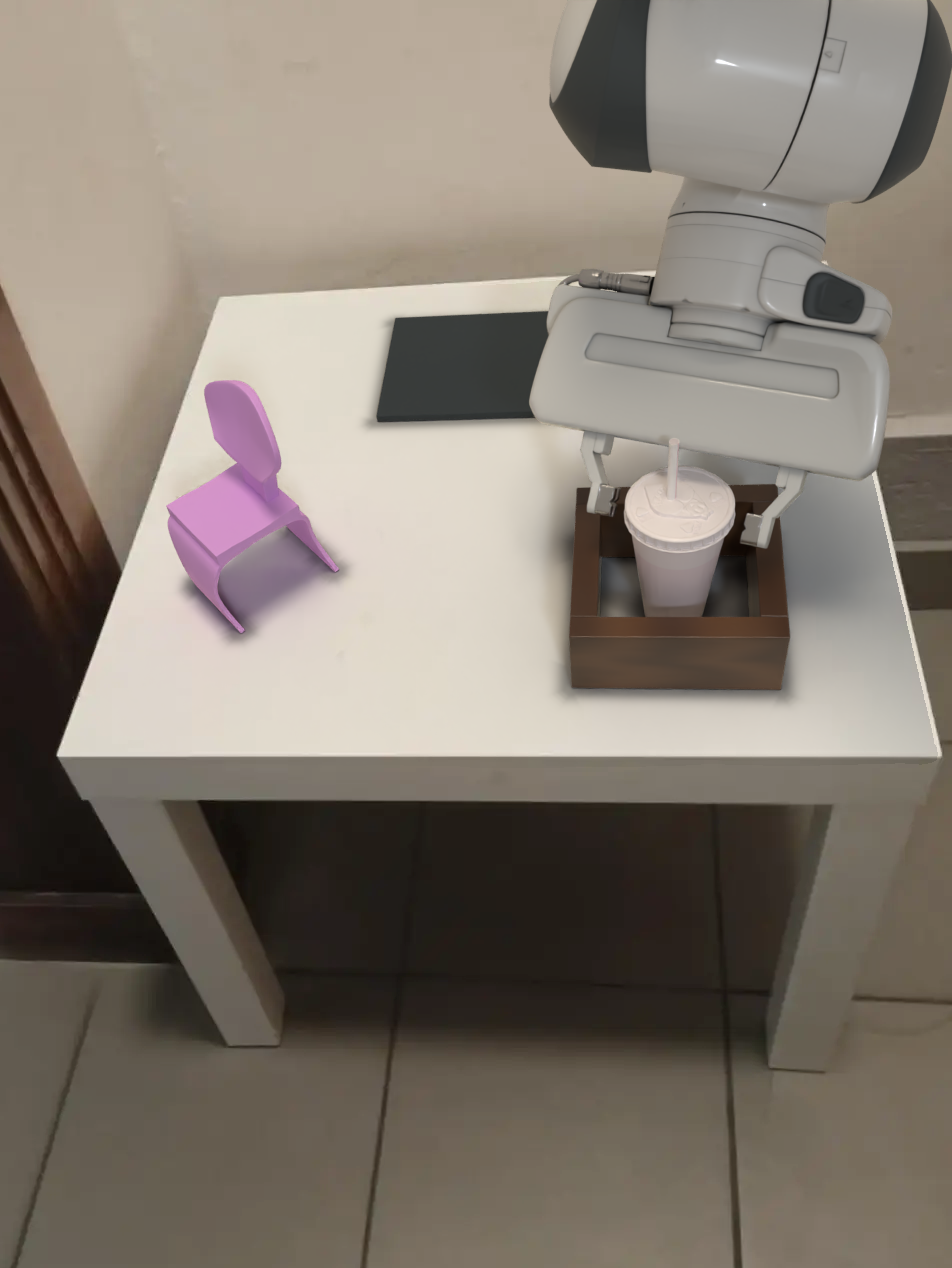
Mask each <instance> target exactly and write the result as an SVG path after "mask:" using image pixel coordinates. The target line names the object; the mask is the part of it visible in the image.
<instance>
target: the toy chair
mask: <svg viewBox="0 0 952 1268" xmlns="http://www.w3.org/2000/svg"><path fill="white" fill-rule="evenodd" d="M203 394H204V402H205V405H206V409H207V414H208V418H209V421H210V426H211V430H212V435H213V439H214V441H215V442H216V443H217V444H218V445H219V447H221V449H222V450H223V451H224V452H225V453H226V454H227V455H228V456H229V457H230V458H231V459H232V460H233V461H234V462H235V463H234V464H232V465H231V466H229V467H228V468H226V469H225V470H224V471H222V472H221V473H219V474H218V475H216V476H215V477H213V478H212V479H210V480H209V481H207V482H205V483H204V484H202V485H199V487H197V488H195V489H192V490H190V491H189V492H187V493H185V494H183V495H182V496H179V497H178V498H177V499H175V500H173V501H171V502H170V503H168V504H166V506H165V507H166V509H167V511H168V514H169V517H168V519H167V529H168V534H169V536H170V540H171V542H172V545H173V547H174V550H175V552H176V555H177V556H178V559H179V561H180V562H181V565H182V567H183V568H184V570H185V572H186V574H187V575H188V577H189V578H190V580H191V581H192V583H193V584H194V586H196V587H197V588H198V589H199V591H200V592H201V593H202V594H203V595H204V597H206V598H207V599H208V600H209V601H210V602H211V603H212V605H214V606H215V608H216V609H217V610H219V612H220V613H221V614H222V615H223V617H225V619H227V620H228V621H229V622H230V624H232V626H233V627H234V628H235V630H237V631H238V632H239V634H240V633H241V634H242V633H244V632H245V631H246V630H245V628H244V627H243V626H242V624H240V622H238V620H237V619H236V618H235V617H234V616H233V614H232V613H231V611H229V610H228V608H227V607H226V605H225V604H224V602H223V601H222V599H221V597H220V595H219V589H218V586H219V585H218V584H219V579H220V577H221V573H222V570H223V569H224V568H225V566H227V564H228V563H230V562H231V561H232V560H234V559H235V558H236V557H238V556H239V555H241V554H242V553H243V552H244V551H245V550H248V548H250V547H252V546H253V545H254V544H256V543H257V542H259V541H260V540H262V539H263V538H265V537H267V536H269V535H271V534H272V533H274V532H276V531H278V530H280V529H282V528H284V527H287V529H289V531H291V533H293V534H294V535H295V536H296V537H297V538H298V539H299V540H300V541H301V542H302V543H303V544H304V545H305V546H306V547H308V548H309V549H310V550H311V552H313V553H314V554H315V555H316V556H317V557H318V558H319V559H320V560H321V561H322V562H323V563H325V565H327V567H329V569H331V570H332V571H333V572H334V573H336V572H338V571H339V570H340V569H339V567H338V565H337V564H336V563H335V562H334V560H333V559H332V557H330V555H329V554H328V552H327V551H326V550H325V548H324V547H323V546H322V544H321V543H320V541H319V540H318V538H317V536H316V535H315V532H314V530H313V527H312V523H311V520H310V519H309V517H308V516H307V515H306V514H305V513H304V512H303V511H302V510H301V509H300V506H299V504H297V502H295V500H293V499H292V498H291V497H290V496H289V495H288V494H286V493H285V492H284V491H283V490H282V489H281V488H280V487H279V484H278V477H277V474H278V473H279V472H280V470H281V469H282V456H281V451H280V448H279V445H278V442H277V439H276V435H275V433H274V430H273V427H272V424H271V421H270V419H269V417H268V414H267V412H266V410H265V408H264V407H265V406H264V405H263V403H262V401H261V399H260V397H259V395H258V393H257V392H256V391H255V390H254V388H253V387H252V386H250V385H249V384H247V383H246V382H244V381H241V380H237V379H221V380H214V381H211V382H208V383H207V384H206V385H205V387H204V389H203Z"/></svg>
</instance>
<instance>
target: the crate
mask: <svg viewBox="0 0 952 1268" xmlns="http://www.w3.org/2000/svg"><path fill="white" fill-rule="evenodd" d="M728 486H729V487H730V488H731V490H732V492H733V494H734V498H735V519H734V524H733V526H732V528H731V529H730V531H729V533H728V534H727V535H726V536H725V537H724V540H723V544H722V547H721V550H720V554H719V557H745V563H746V580H747V581H746V582H747V583H746V584H747V598H748V614H749V616H702V617H645V616H600V615H601V588H602V585H601V584H602V558H636V557H635V551H634V545H633V540H632V534H631V533H630V532H629V530H628V528H627V526H626V524H625V520H624V510H625V499H626V496H627V493H628V491H629V489H630V488H631V486H617V487H618V488H622V489H621V494H620V498H619V500H618V501H617V502H616V504H617V506H618V507H617V511H616V514H615V516H614V517H610V516H604V515H599V514H594V513H589V512H587V503H588V498H589V494H590V489H591V486H587V487H586V486H585V487H576V490H575V491H576V494H575V511H574V530H573V531H574V532H573V550H572V551H573V553H572V567H571V568H572V570H571V571H572V572H571V590H570V607H569V608H570V611H569V629H568V630H569V631H568V645H569V646H568V647H569V665H570V685H571V688H572V689H650V690H651V689H655V690H656V689H657V690H658V689H660V690H664V689H665V690H667V689H668V690H669V689H671V690H672V689H673V690H757V691H758V690H765V691H766V690H769V691H771V690H772V691H773V690H775V691H776V690H777V691H779V690H781V689H782V687H783V686H782V685H783V680H784V674H785V669H786V662H787V657H788V652H789V646H790V641H791V631H790V621H789V619H790V618H789V608H788V607H789V606H788V595H787V584H786V583H787V582H786V571H785V560H784V559H785V558H784V547H783V535H782V533H783V532H782V523H781V516H780V517H779V518H776V519H775V522H774V526H773V530H772V534H771V538H770V542H769V545H768V548H761V547H755V546H751V545H747V544H742V543H740V539H741V535H742V532H743V531H744V530H745V529H746V528H745V525H744V523H745V519H746V515H747V513H751V514H756V515H762V513H763V512H764V511H765V510H766V509H767V508H768V507H769V506H770V505H771V504H772V503H773V501H774V500H775V499H776V498H777V497H778V496H779V487H777V486H776V484H775V483H749V484H748V483H747V484H746V483H745V484H744V483H743V484H728ZM762 516H763V515H762Z"/></svg>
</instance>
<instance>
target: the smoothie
mask: <svg viewBox="0 0 952 1268" xmlns="http://www.w3.org/2000/svg"><path fill="white" fill-rule="evenodd" d="M679 453H680V449H679V440H678V439H676V438H672V439H670V440H669V447H668V454H667V455H668V458H667V466H666V467H661V468H657V469H654V470H652V471H649V472H647V473H645V474H643V475H642V476H641V477H640V478H638V479H637V480H636V481H635V482H634V483H633V484H632V485H631V486H630V487H631V488H630V489H629V491H628V493H627V496H626V499H625V510H624V520H625V524H626V526H627V528H628V530H629V532H630V533H631V534H632V540H633V545H634V551H635V557H634V558H635V562H636V569H637V574H638V581H639V588H640V592H641V600H642V606H643V612H644V617H703V614H704V611H705V607H706V603H707V600H708V596H709V593H710V590H711V585H712V583H713V579H714V576H715V572H716V569H717V565H718V560H719V557H720V556H719V554H720V550H721V547H722V544H723V540H724V537H725V536H726V535H727V534H728V533H729V531H730V529H731V528H732V526H733V524H734V519H735V498H734V494H733V492H732V490H731V488H730V487H729V486H728V485H729V484H728V483H727V482H726V481H725V480H724V479H723V478H721V477H720V476H719V475H717V474H715V473H714V472H712V471H709V470H707V469H704V468H701V467H697V466H691V465H679V457H680V456H679V455H680V454H679Z"/></svg>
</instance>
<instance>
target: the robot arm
mask: <svg viewBox="0 0 952 1268" xmlns="http://www.w3.org/2000/svg"><path fill="white" fill-rule="evenodd" d="M556 28H557V29H556V32H555V36H554V40H553V45H552V50H551V57H550V64H549V99H548V104H549V108H550V110H551V112H552V114H553V116H554V118H555V120H556V121H557V123H558V125H559V127H560V128H561V129H562V131H563V133H564V134H565V136H566V137H567V139H568V140H569V141H570V143H571V144H572V146H573V147H574V148H575V150H576V151H577V152H578V153H579V154H580V155H581V157H582V158H583V159H584V160H585V161H586V162H587V163H588V165H589V166H590V167H593V168H600V169H611V170H620V171H630V172H638V173H645V174H651V173H652V172H653V171H654V172H659V173H663V174H669V175H672V176H673V175H674V176H677V177H678V176H679V177H683V180H682V184H681V187H680V189H679V192H678V194H677V196H676V198H675V200H673V204H672V205H671V207H670V209H669V213H668V217H667V220H666V223H665V224H666V225H665V229H664V234H663V238H662V243H661V247H660V251H659V256H658V260H657V265H656V269H655V274H654V276H651V275H643V274H637V273H636V274H635V273H615V272H608V271H604V270H602V269H599V268H598V269H597V268H583V269H581V270H580V272H579V273H576V274H572V275H570V276H567V277H565V278H564V279H563V280H562V281H560V282H559V283H558V284H557V286H555V288H554V290H553V291H552V294H551V297H550V301H549V307H548V310H547V311H548V316H547V324H546V325H547V332H548V335H549V336H548V339H547V342H546V344H545V347H544V350H543V353H542V355H541V358H540V361H539V365H538V368H537V371H536V375H535V378H534V382H533V385H532V389H531V393H530V399H529V405H530V407H531V410H532V412H533V414H534V416H535V417H534V418H535V419H536V421H537V422H539V423H541V424H543V425H547V426H551V427H557V428H562V429H567V430H573V431H578V432H583V435H582V440H581V444H580V448H579V451H580V454H581V457H582V460H583V464H584V467H585V470H586V474H587V476H588V480H589V482H590V483H591V484H590V487H591V489H590V494H589V498H588V503H587V512H589V513H594V514H599V515H604V516H610V517H614V516H615V514H616V511H617V507H618V506H617V504H616V502H617V501H618V500H619V498H620V494H621V489H622V488H618V487H619V486H613V485H610V483H609V479H608V476H607V472H606V469H605V464H604V461H603V457H602V455H603V456H607V457H608V456H610V455H611V454H612V451H613V446H614V442H615V438H617V439H623V440H629V441H633V442H639V443H646V444H650V445H655V446H661V447H667V448H669V440H670V439H672V438H676V439H678V440H679V450H683V451H688V452H695V453H700V454H704V455H710V456H717V457H722V458H726V459H728V458H729V459H732V460H739V461H744V462H749V463H754V464H761V465H766V466H771V467H777V468H778V471H777V476H776V480H775V483H774V484H776V486H777V487H778V489H783V490H782V491H781V493H779V494H778V497H777V498H776V499H775V500H774V501H773V503H772V504H771V505H770V506H769V507H768V508H767V509H766V510H765V511H764V512H763V513H762V515H763V516H762V515H756V514H751V513H747V515H746V519H745V523H744V525H745V528H746V529H745V530H744V531H743V532H742V535H741V539H740V543H742V544H747V545H751V546H755V547H761V548H768V545H769V542H770V538H771V534H772V530H773V526H774V522H775V519H776V518H779V517H780V518H781V516H782V514H784V513H785V511H786V510H788V508H789V507H790V506H791V505H792V504H793V503H794V502H795V501H796V500H797V499H798V498H799V497H800V496H801V495H802V494H803V491H804V488H805V485H806V480H807V476H808V473H809V474H816V475H820V476H821V475H822V476H826V477H831V478H836V479H843V480H847V481H848V480H849V481H854V482H861V481H863V480H865V479H867V478H869V476H871V475H872V474H874V473H875V472H876V471H877V470H878V467H879V464H880V461H881V455H882V451H883V446H884V442H885V441H884V440H885V435H886V430H887V429H886V428H887V423H888V415H889V407H890V396H891V395H890V394H891V393H890V392H891V372H890V371H891V370H890V367H889V361H888V359H887V355H886V354H885V351H884V349H883V348H882V346H880V345H881V344H882V343H883V342H884V341H885V340H886V338H887V336H888V334H889V332H890V329H891V326H892V321H893V315H894V314H893V307H892V305H891V302H890V300H889V299H888V297H887V296H886V295H885V294H884V293H883V292H882V291H881V290H879V289H877V288H876V287H874V286H872V285H870V284H868V283H866V282H863V281H861V280H859V279H857V278H855V277H853V276H851V275H849V274H846V273H845V272H842V271H840V270H838V269H836V268H834V267H832V266H830V265H827V263H824V262H822V261H823V256H824V252H825V248H826V244H827V232H828V231H827V227H828V226H827V223H828V222H827V220H828V211H829V207H830V205H841V204H842V205H843V204H855V205H856V204H863V203H865V202H868V201H870V200H872V199H874V198H876V197H877V196H880V195H882V194H883V193H885V192H888V191H889V190H890V189H891V188H893V187H895V186H896V185H898V184H899V183H901V182H902V181H903V180H905V179H906V178H907V177H909V176H910V175H911V174H912V173H914V172H915V171H916V170H918V169H919V168H920V167H921V166H922V164H923V163H924V161H925V159H926V157H927V155H928V153H929V150H930V148H931V145H932V143H933V140H934V136H935V133H936V130H937V127H938V123H939V121H940V117H941V113H942V109H943V107H944V103H945V99H946V95H947V91H948V87H949V83H950V79H951V74H952V46H951V44H950V43H951V42H950V39H949V35H948V33H947V30H946V27H945V24H944V22H943V19H942V17H941V15H940V13H939V11H938V9H937V7H936V6H935V4H934V2H933V1H932V0H567V1H566V3H565V6H564V8H563V10H562V13H561V16H560V19H559V22H558V25H557V27H556ZM577 282H578V285H571V284H573V283H577Z"/></svg>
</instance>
